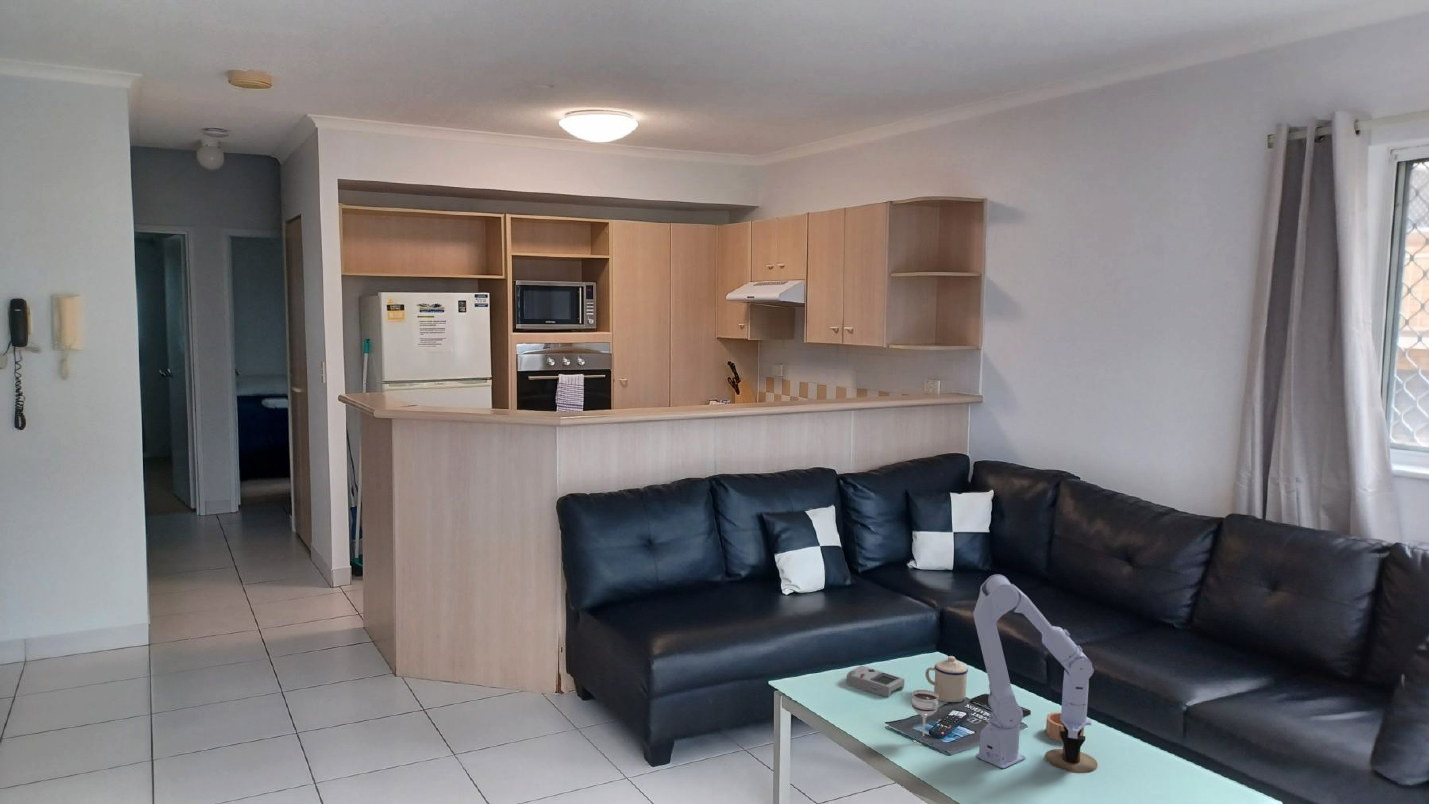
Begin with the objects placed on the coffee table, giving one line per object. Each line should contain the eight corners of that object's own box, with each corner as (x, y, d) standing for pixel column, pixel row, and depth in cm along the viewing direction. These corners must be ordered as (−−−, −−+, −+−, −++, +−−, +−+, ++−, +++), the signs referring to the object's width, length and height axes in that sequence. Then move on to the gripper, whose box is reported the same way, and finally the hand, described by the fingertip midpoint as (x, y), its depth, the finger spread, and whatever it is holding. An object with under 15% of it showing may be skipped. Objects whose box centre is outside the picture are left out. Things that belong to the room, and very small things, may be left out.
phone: (986, 692, 270) (1032, 710, 259) (985, 696, 271) (1032, 714, 259) (968, 699, 266) (1015, 717, 254) (968, 703, 266) (1015, 722, 254)
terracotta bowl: (1070, 745, 240) (1071, 730, 239) (1038, 732, 247) (1039, 717, 246) (1090, 736, 245) (1091, 721, 245) (1058, 724, 252) (1059, 709, 252)
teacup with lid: (971, 696, 269) (973, 656, 268) (958, 706, 262) (960, 665, 261) (931, 685, 276) (933, 646, 275) (918, 695, 269) (920, 655, 268)
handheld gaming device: (860, 676, 283) (861, 664, 283) (904, 690, 273) (905, 677, 273) (843, 685, 276) (844, 672, 276) (888, 700, 267) (888, 686, 266)
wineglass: (942, 741, 240) (944, 695, 239) (927, 749, 235) (930, 702, 234) (918, 732, 245) (920, 687, 244) (904, 740, 240) (906, 694, 239)
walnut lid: (1080, 778, 223) (1081, 759, 223) (1034, 759, 232) (1035, 741, 232) (1107, 764, 231) (1108, 745, 230) (1061, 746, 240) (1062, 729, 240)
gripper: (1092, 715, 222) (1089, 771, 223) (1092, 692, 235) (1089, 745, 237) (1060, 709, 225) (1057, 765, 226) (1062, 687, 238) (1058, 740, 239)
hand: (1071, 755), depth 231 cm, fingers open, 7 cm apart
